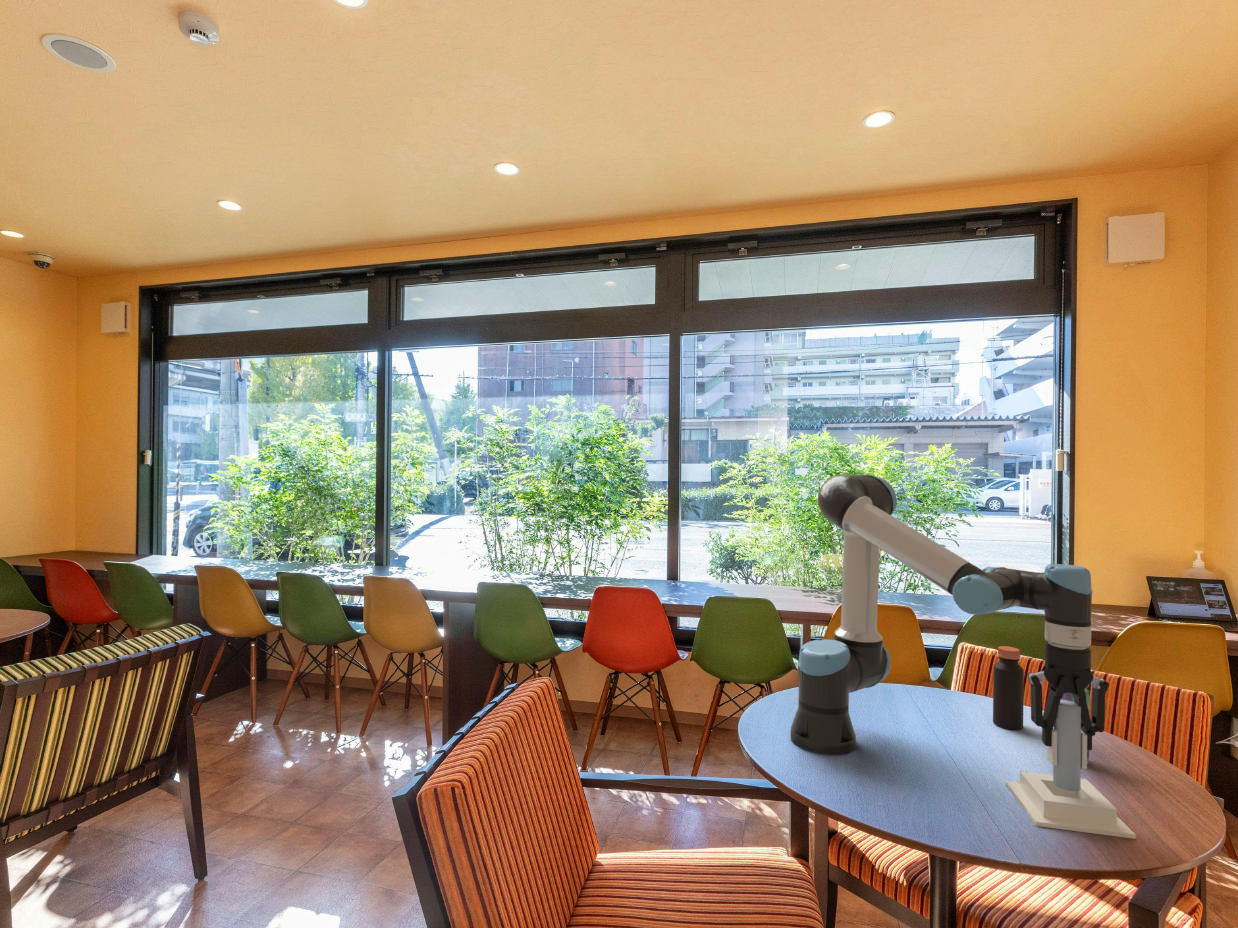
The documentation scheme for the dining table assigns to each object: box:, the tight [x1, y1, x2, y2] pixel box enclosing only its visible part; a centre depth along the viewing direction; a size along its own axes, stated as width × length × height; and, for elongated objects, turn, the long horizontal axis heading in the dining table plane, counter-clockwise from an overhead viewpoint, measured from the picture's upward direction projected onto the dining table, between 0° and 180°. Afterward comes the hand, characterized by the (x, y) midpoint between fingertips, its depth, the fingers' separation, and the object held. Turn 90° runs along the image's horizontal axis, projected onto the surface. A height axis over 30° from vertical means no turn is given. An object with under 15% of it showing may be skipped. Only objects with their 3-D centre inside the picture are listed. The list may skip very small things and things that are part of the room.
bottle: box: [992, 645, 1025, 731], centre depth 167 cm, size 7×7×20 cm
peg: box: [1052, 700, 1082, 791], centre depth 125 cm, size 4×4×16 cm
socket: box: [1005, 771, 1136, 840], centre depth 125 cm, size 16×16×4 cm
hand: (1066, 763), depth 125 cm, fingers closed on peg, 4 cm apart
